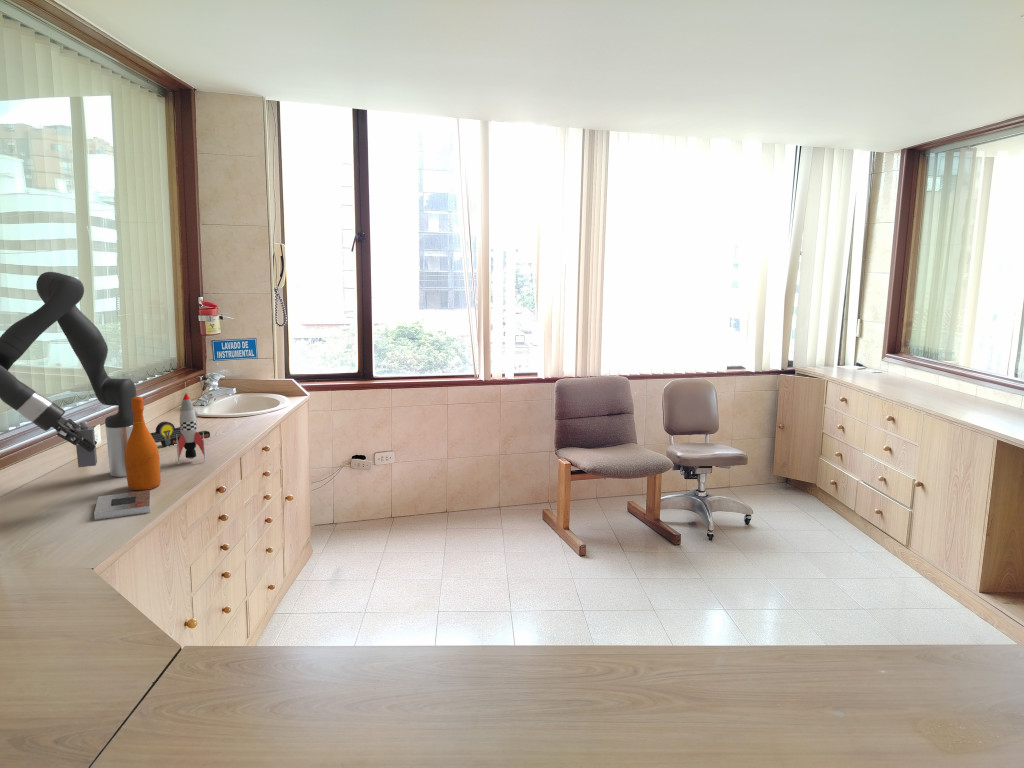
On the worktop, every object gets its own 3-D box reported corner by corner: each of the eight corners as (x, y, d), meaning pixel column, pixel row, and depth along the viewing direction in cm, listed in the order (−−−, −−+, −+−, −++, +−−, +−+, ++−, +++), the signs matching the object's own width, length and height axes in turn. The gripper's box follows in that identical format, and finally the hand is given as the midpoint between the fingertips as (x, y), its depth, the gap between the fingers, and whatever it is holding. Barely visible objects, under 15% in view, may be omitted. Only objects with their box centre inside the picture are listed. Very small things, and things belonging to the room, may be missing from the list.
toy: (207, 461, 252) (202, 381, 247) (186, 467, 245) (180, 385, 240) (193, 457, 257) (187, 379, 252) (171, 463, 250) (165, 382, 245)
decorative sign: (146, 451, 265) (144, 426, 264) (143, 450, 266) (141, 425, 265) (210, 437, 287) (208, 414, 286) (207, 436, 289) (205, 413, 287)
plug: (78, 467, 202) (73, 424, 199) (80, 463, 205) (75, 421, 203) (95, 465, 203) (91, 423, 201) (97, 461, 207) (93, 419, 205)
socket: (98, 502, 209) (98, 494, 208) (150, 496, 215) (149, 488, 215) (94, 520, 195) (93, 511, 194) (150, 512, 201) (149, 504, 201)
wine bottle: (167, 482, 228) (160, 394, 223) (149, 492, 219) (141, 400, 214) (140, 481, 229) (132, 393, 224) (120, 490, 220) (112, 399, 214)
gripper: (47, 406, 191) (101, 443, 199) (54, 397, 204) (105, 432, 211) (26, 426, 190) (81, 463, 197) (35, 415, 203) (87, 450, 210)
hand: (93, 447), depth 204 cm, fingers closed on plug, 4 cm apart
